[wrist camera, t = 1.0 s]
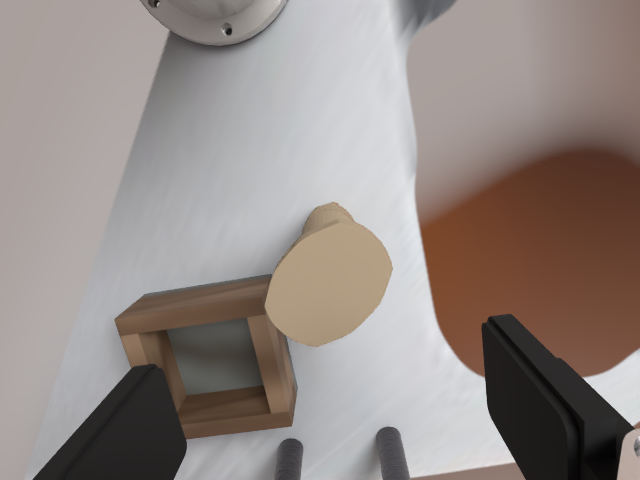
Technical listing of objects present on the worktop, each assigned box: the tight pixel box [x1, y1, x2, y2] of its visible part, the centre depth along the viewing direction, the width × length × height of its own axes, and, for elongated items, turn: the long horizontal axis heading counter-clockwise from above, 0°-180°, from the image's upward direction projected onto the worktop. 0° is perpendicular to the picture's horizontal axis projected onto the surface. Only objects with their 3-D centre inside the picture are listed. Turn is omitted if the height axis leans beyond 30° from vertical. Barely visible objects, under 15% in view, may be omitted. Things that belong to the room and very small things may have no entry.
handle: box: [265, 202, 393, 347], centre depth 24 cm, size 5×6×15 cm
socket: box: [114, 274, 298, 439], centre depth 33 cm, size 12×12×5 cm
